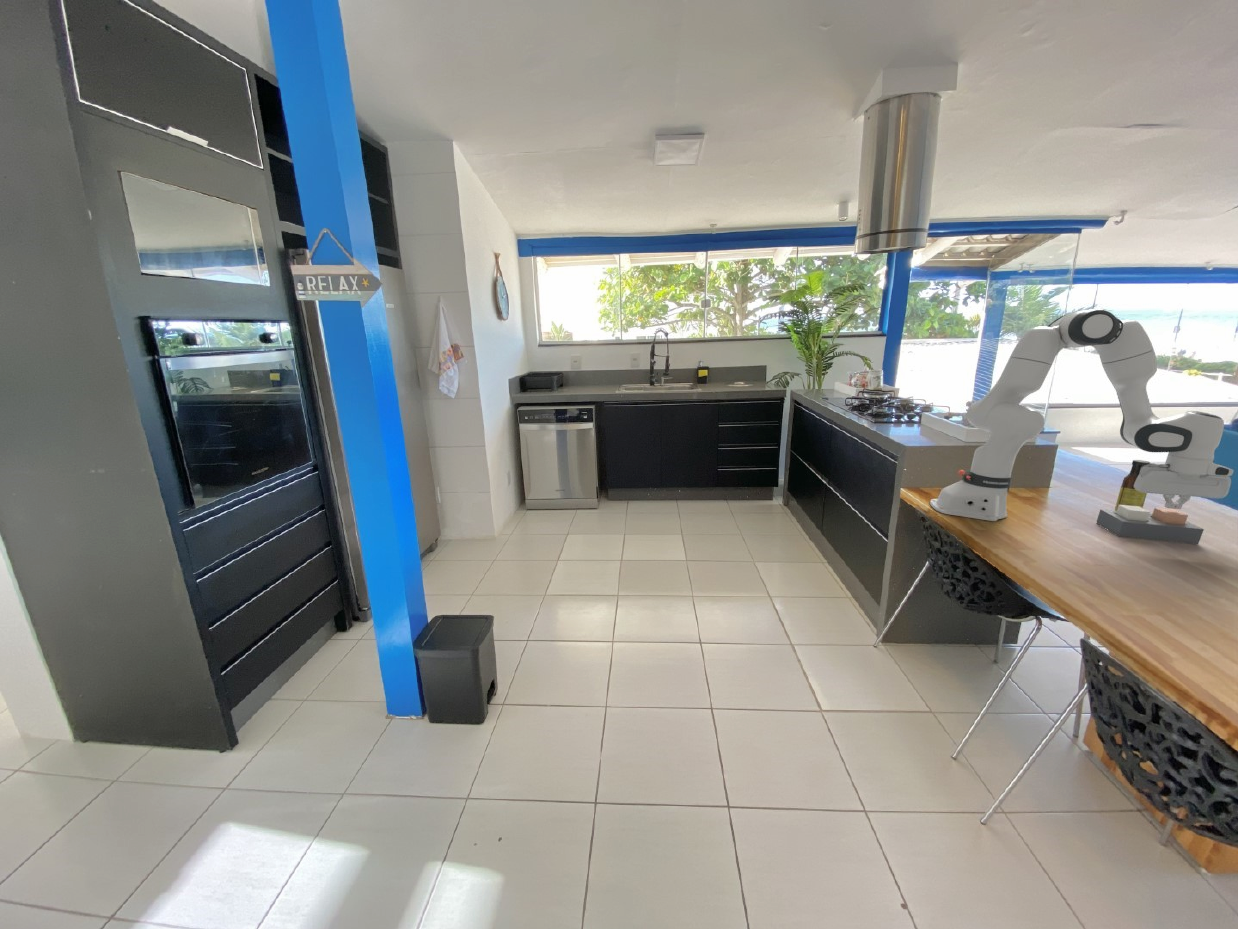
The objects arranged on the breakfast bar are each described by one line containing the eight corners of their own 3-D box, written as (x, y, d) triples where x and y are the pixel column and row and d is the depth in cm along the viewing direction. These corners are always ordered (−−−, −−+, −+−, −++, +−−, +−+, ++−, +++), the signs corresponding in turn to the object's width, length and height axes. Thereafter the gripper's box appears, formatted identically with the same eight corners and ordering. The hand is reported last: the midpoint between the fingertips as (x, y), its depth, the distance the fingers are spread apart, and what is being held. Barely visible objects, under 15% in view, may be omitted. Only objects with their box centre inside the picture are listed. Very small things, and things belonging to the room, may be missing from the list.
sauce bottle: (1144, 520, 158) (1163, 464, 152) (1122, 519, 159) (1140, 463, 154) (1128, 513, 164) (1146, 459, 159) (1107, 512, 165) (1124, 458, 160)
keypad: (1118, 536, 146) (1123, 521, 144) (1096, 523, 156) (1100, 509, 154) (1198, 544, 140) (1203, 529, 139) (1169, 530, 150) (1174, 515, 149)
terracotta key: (1162, 525, 144) (1166, 513, 143) (1150, 519, 149) (1154, 507, 148) (1183, 527, 143) (1188, 515, 142) (1170, 521, 147) (1175, 509, 146)
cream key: (1125, 521, 147) (1129, 510, 146) (1115, 516, 151) (1118, 504, 150) (1146, 523, 145) (1150, 511, 144) (1134, 517, 150) (1138, 506, 149)
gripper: (1150, 465, 141) (1137, 508, 144) (1241, 471, 135) (1224, 515, 138) (1135, 460, 146) (1122, 501, 150) (1222, 465, 140) (1206, 508, 144)
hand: (1172, 508), depth 144 cm, fingers closed
